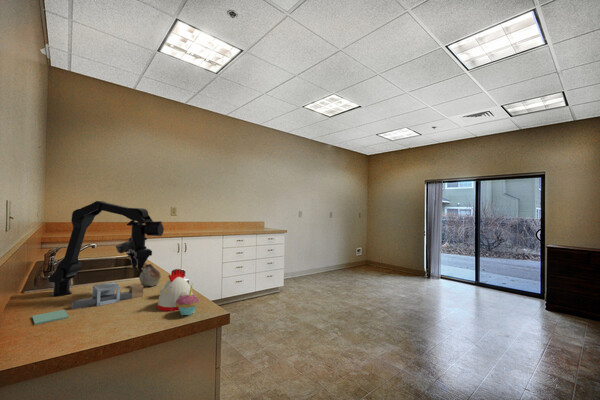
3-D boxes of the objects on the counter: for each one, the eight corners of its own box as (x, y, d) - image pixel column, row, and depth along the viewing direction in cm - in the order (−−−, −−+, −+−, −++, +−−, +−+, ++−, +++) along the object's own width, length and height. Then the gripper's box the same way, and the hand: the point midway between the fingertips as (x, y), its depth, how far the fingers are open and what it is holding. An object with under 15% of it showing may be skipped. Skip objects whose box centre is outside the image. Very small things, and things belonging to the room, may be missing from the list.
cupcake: (203, 311, 112) (204, 281, 112) (188, 319, 104) (189, 287, 104) (185, 308, 114) (187, 278, 115) (169, 315, 106) (171, 284, 107)
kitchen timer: (149, 307, 114) (151, 270, 114) (176, 298, 127) (177, 265, 127) (175, 313, 109) (177, 275, 109) (200, 302, 121) (201, 268, 122)
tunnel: (91, 300, 119) (92, 285, 119) (113, 296, 125) (114, 282, 125) (96, 306, 114) (97, 289, 114) (119, 301, 120) (120, 286, 120)
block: (128, 296, 127) (129, 285, 127) (139, 294, 130) (140, 283, 130) (131, 298, 124) (132, 287, 124) (142, 296, 127) (143, 285, 127)
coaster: (32, 317, 101) (32, 315, 101) (64, 311, 107) (64, 309, 107) (34, 325, 95) (34, 323, 95) (68, 317, 101) (68, 316, 101)
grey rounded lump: (134, 287, 141) (135, 263, 141) (147, 282, 150) (148, 259, 151) (152, 288, 139) (154, 264, 140) (164, 283, 149) (166, 261, 149)
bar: (71, 308, 111) (71, 300, 111) (129, 297, 126) (129, 291, 126) (72, 310, 109) (72, 302, 109) (131, 299, 124) (131, 292, 124)
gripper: (112, 234, 129) (110, 268, 129) (125, 238, 116) (123, 276, 116) (138, 233, 137) (137, 265, 137) (153, 237, 125) (151, 272, 124)
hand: (136, 269), depth 128 cm, fingers open, 6 cm apart
